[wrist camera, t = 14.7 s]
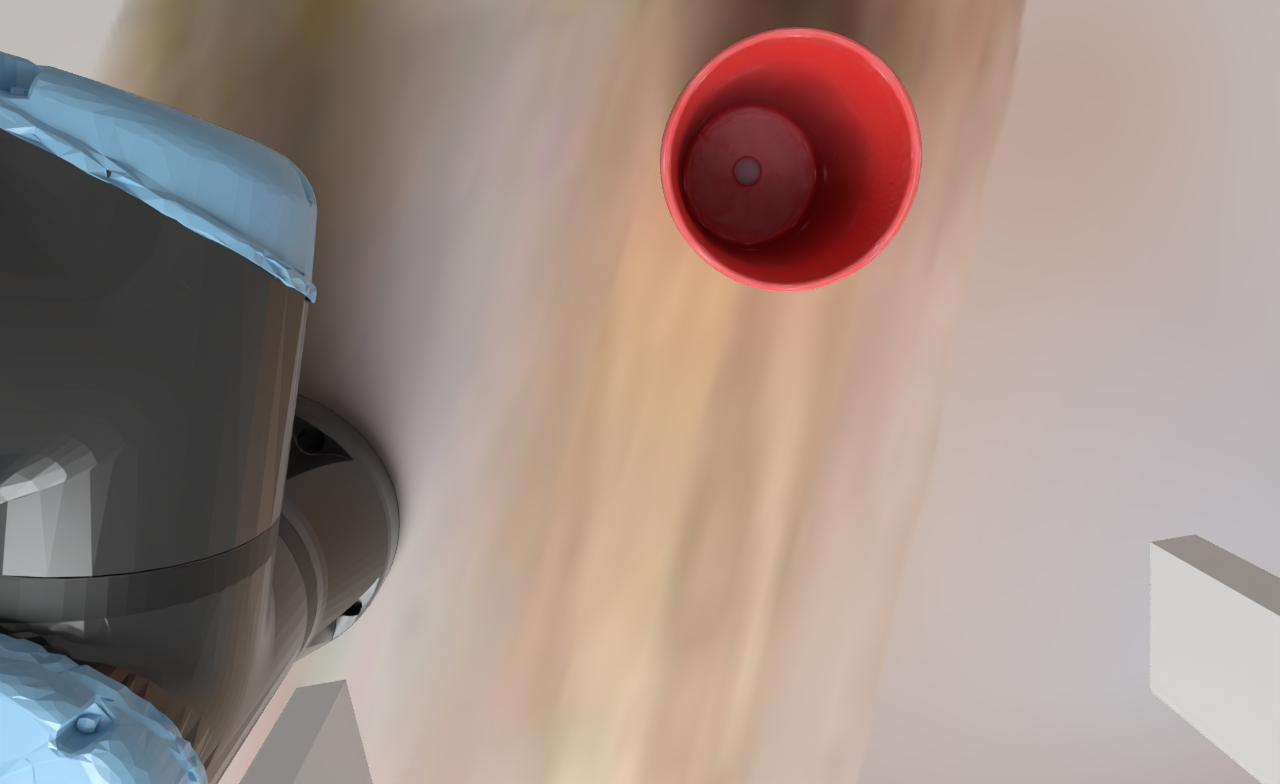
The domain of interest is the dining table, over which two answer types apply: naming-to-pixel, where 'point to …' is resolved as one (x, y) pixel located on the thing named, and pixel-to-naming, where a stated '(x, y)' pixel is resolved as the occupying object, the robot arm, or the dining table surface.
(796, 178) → the flower pot
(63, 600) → the robot arm
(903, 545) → the dining table surface
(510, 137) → the dining table surface
